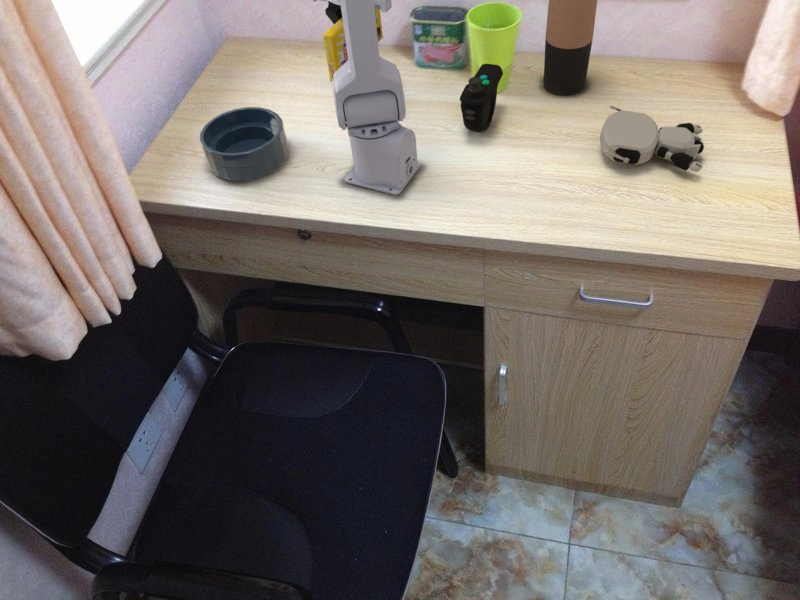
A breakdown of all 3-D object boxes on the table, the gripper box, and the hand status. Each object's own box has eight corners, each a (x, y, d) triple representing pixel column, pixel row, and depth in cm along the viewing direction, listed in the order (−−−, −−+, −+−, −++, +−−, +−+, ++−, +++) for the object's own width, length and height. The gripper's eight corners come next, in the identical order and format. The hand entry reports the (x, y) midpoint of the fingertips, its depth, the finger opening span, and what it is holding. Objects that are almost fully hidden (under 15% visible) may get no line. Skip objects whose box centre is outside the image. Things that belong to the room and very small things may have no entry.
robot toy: (698, 140, 108) (601, 125, 111) (707, 115, 104) (607, 100, 107) (697, 188, 100) (593, 171, 103) (707, 163, 97) (599, 146, 100)
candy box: (340, 83, 115) (331, 36, 109) (329, 82, 116) (319, 35, 110) (385, 38, 124) (378, -8, 118) (374, 37, 125) (367, -9, 119)
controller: (457, 142, 111) (455, 87, 104) (480, 102, 119) (480, 48, 111) (482, 147, 110) (483, 91, 102) (504, 105, 117) (506, 51, 110)
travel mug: (554, 69, 124) (565, -47, 109) (594, 79, 120) (610, -38, 106) (533, 89, 120) (542, -28, 105) (574, 100, 117) (588, -19, 102)
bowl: (304, 144, 114) (298, 115, 110) (259, 191, 107) (251, 162, 103) (240, 129, 119) (232, 101, 115) (193, 173, 112) (182, 144, 107)
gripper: (397, -41, 108) (403, 41, 118) (318, -51, 113) (331, 29, 123) (376, -23, 104) (384, 61, 114) (295, -33, 109) (311, 47, 119)
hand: (355, 45), depth 118 cm, fingers closed on candy box, 2 cm apart
